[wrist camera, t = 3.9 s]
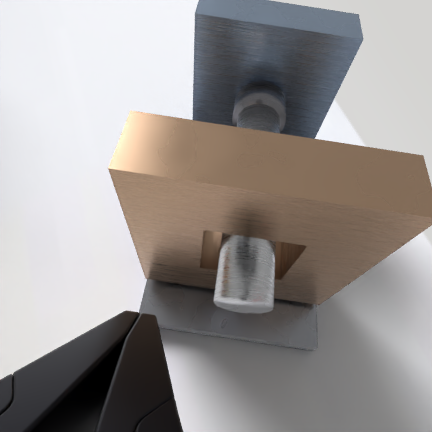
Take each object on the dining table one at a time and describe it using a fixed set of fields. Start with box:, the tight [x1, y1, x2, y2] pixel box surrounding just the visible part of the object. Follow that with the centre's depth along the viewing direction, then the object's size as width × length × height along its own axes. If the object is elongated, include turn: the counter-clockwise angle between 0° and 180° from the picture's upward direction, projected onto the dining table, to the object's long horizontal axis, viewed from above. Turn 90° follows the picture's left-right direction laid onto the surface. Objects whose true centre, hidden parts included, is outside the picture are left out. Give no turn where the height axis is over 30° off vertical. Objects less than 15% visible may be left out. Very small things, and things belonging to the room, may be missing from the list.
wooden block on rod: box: [108, 111, 432, 305], centre depth 14 cm, size 2×10×10 cm, turn 83°
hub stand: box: [139, 0, 363, 350], centre depth 17 cm, size 14×10×11 cm
